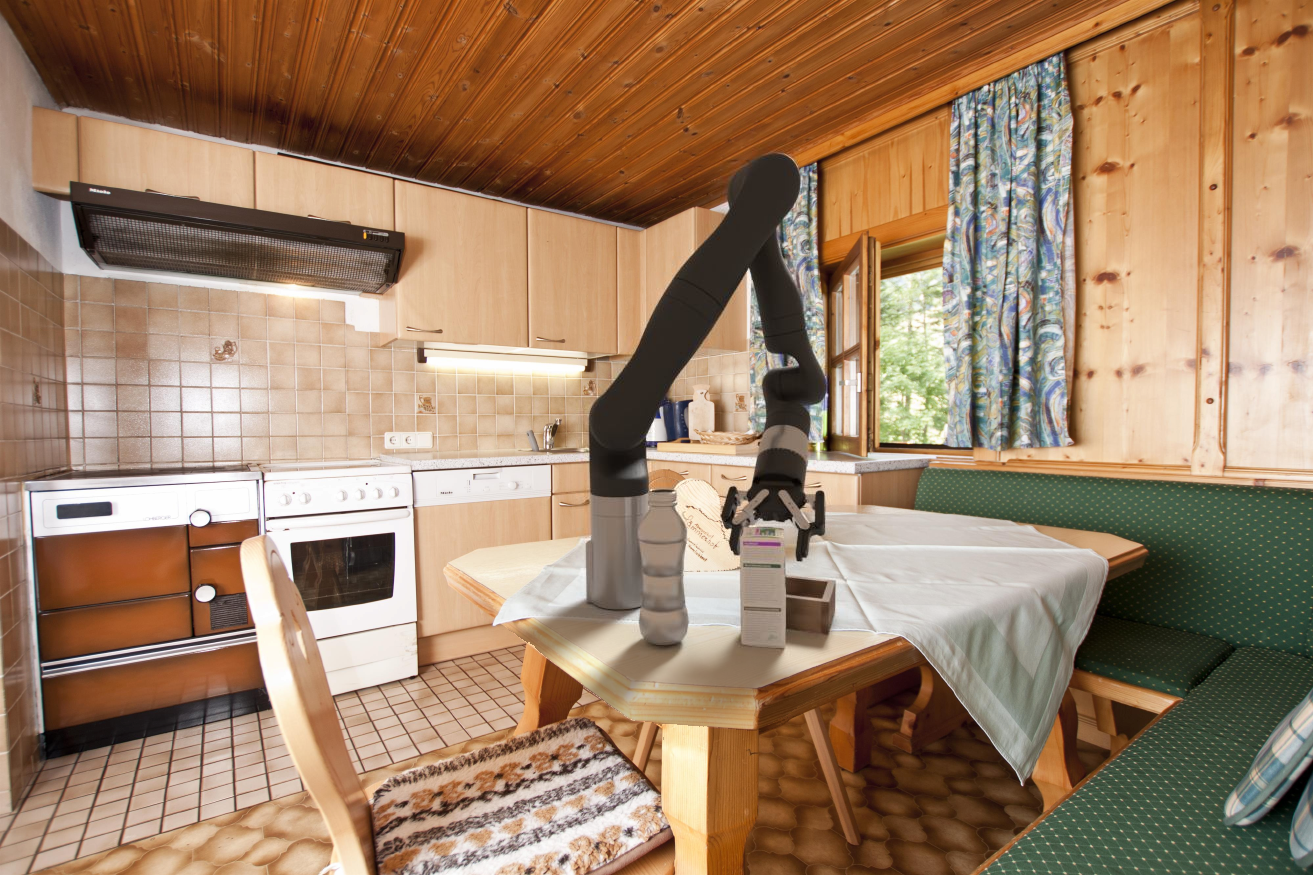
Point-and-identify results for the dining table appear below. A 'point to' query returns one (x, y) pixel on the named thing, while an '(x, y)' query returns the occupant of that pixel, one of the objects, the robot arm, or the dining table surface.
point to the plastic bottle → (663, 570)
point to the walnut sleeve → (810, 604)
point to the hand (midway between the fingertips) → (766, 555)
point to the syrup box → (763, 587)
